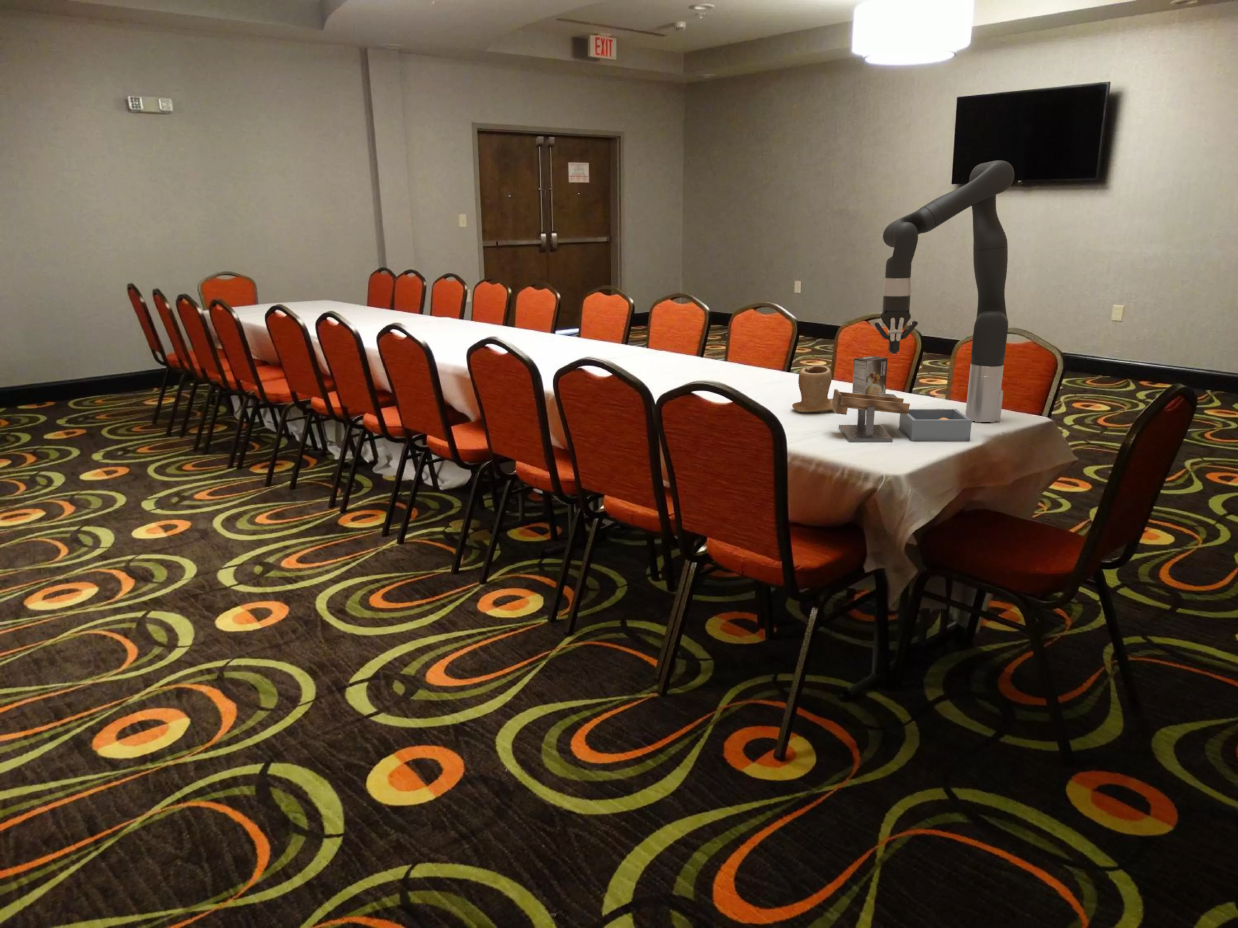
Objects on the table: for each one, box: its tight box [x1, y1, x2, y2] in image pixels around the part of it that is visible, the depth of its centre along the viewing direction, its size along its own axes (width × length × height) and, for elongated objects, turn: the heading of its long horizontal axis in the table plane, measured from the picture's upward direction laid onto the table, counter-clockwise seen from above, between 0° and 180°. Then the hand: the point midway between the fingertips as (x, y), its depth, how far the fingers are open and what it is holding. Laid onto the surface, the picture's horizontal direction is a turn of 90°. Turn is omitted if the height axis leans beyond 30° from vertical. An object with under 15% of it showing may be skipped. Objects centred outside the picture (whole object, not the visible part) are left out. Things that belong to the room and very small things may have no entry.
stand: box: [838, 406, 893, 443], centre depth 242 cm, size 12×16×10 cm
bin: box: [898, 408, 973, 442], centre depth 241 cm, size 16×14×6 cm
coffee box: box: [851, 355, 889, 396], centre depth 277 cm, size 9×6×16 cm
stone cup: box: [791, 364, 833, 413], centre depth 271 cm, size 15×12×15 cm
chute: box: [831, 388, 911, 416], centre depth 245 cm, size 20×18×6 cm
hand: (893, 353), depth 247 cm, fingers closed
